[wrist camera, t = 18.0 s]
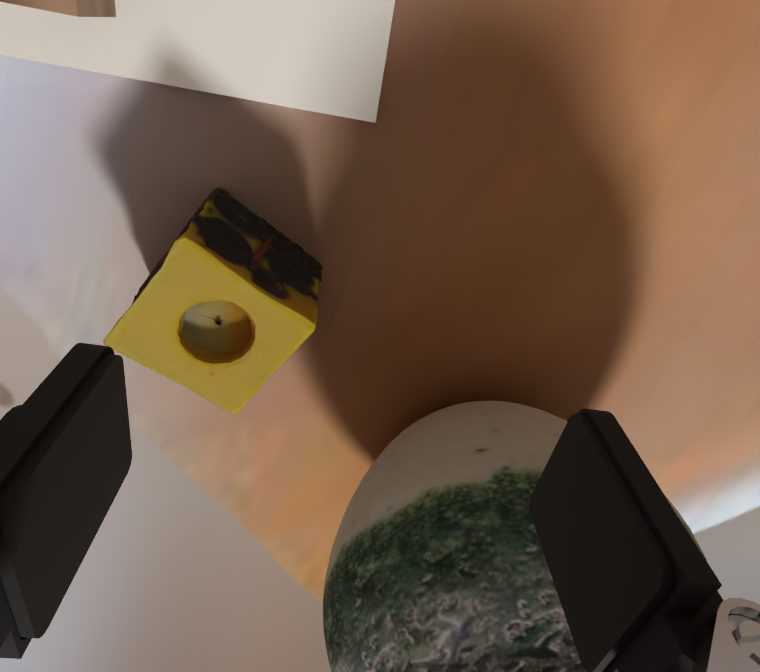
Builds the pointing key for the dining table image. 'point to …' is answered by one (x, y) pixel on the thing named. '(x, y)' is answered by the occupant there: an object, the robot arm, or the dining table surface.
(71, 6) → the brown square wooden frame
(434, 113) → the dining table surface
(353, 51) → the board
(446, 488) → the vase
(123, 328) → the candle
